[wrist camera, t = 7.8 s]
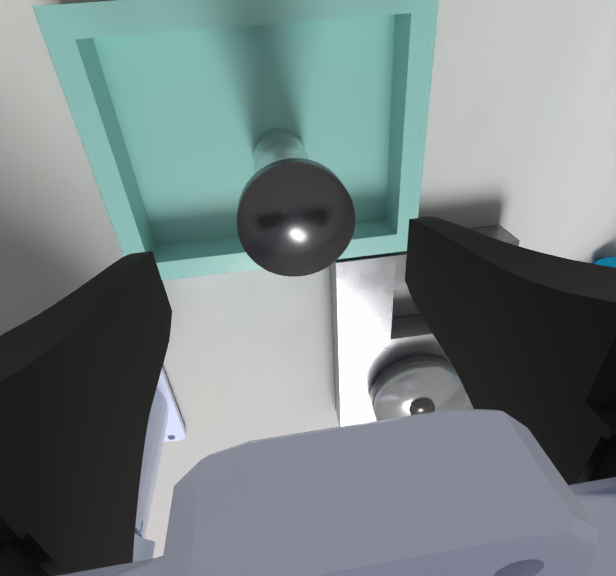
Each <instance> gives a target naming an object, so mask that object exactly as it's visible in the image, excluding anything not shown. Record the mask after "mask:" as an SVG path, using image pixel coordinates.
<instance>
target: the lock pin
mask: <svg viewBox="0 0 616 576" xmlns="http://www.w3.org/2000/svg"><path fill="white" fill-rule="evenodd" d="M253 159H254V175H253V176H252V177H251V178H250V180H249V181H248V182H247V183H246V185H245V187H244V189H243V190H242V193H241V195H240V198H239V202H238V209H237V231H238V236H239V239H240V242H241V245H242V247H243V249H244V250H245V252H246V253H247V255H248V256H249V257H250V258H251V259H252V260H253V261H254V262H255V263H256V264H257V265H259V266H260V267H262V268H263V269H265V270H267V271H270V272H272V273H275V274H279V275H283V276H304V275H309V274H313V273H316V272H318V271H320V270H323V269H325V268H326V267H328V266H329V265H331V264H332V263H333V262H335V261H336V260H337V259H338V258H339V257H340V256H341V255H342V254H343V252H344V251H345V250H346V248H347V247H348V245H349V243H350V241H351V239H352V236H353V233H354V229H355V209H354V205H353V202H352V199H351V197H350V195H349V193H348V191H347V190H346V188H345V187H344V185H343V183H342V182H341V180H340V179H339V178H338V177H337V176H336V174H335V173H333V172H332V171H331V170H330V169H329V168H327V167H326V166H324V165H322V164H320V163H318V162H315V161H312V160H310V159H309V157H308V155H307V153H306V151H305V149H304V146H303V144H302V142H301V141H300V139H299V138H298V137H297V136H296V135H295V134H294V133H293V132H291V131H289V130H286V129H282V128H275V129H271V130H268V131H266V132H265V133H263V134H262V135H261V136H260V137H259V139H258V140H257V142H256V144H255V146H254V151H253Z"/></svg>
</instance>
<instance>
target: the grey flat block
mask: <svg viewBox="0 0 616 576" xmlns="http://www.w3.org/2000/svg"><path fill="white" fill-rule="evenodd" d="M470 230H473V231H476V232H478V233H481V234H484V235H486V236H489V237H492V238H495V239H498V240H501V241H503V242H507V243H510V244H513V245H516V246H518V245H519V240H518V239H517V238H516V237H514V236H513V235H512V234H511V233H509V232H508V231H507V230H505V229H504V228H503V227H502V226H500V225H497V226H489V227H480V228H472V229H470ZM406 256H407V251H402V252H394V253H385V254H377V255H369V256H361V257H353V258H344V259H337V260H336V261H335V262H333V263H332V264H331V265H330V276H331V301H332V326H333V351H334V377H335V402H336V413H337V418H338V422H339V426H340V427H342V426H348V425H354V424H361V423H367V422H373V421H380V420H386V419H392V418H398V417H405V416H411V415H417V414H424V413H430V412H436V411H442V410H449V409H474V408H473V406H472V404H471V402H470V399H469V397H468V395H467V393H466V391H465V389H464V387H463V385H462V383H461V381H460V378H459V376H458V374H457V373H456V371H455V369H454V367H453V366H452V364H451V362H450V360H449V359H448V357H447V356H446V354H445V352H444V351H443V349H442V348H441V346H440V345H439V343H438V341H437V340H436V338H435V337H434V335H433V333H432V332H431V330H430V329H429V327H428V325H427V324H426V322H425V321H424V319H423V317H422V316H421V314H418V315H411V316H403V317H396V318H392V310H393V295H394V290H401V289H408V287H407V284H406V282H405V270H406Z"/></svg>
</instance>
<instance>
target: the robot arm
mask: <svg viewBox="0 0 616 576" xmlns="http://www.w3.org/2000/svg"><path fill="white" fill-rule="evenodd" d="M405 282H406V284H407V287H408V289H409V292H410V294H411V297H412V299H413V301H414V303H415V306H416V307H417V309H418V311H419V312H420V314H421V316H422V317H423V319H424V321H425V322H426V324H427V325H428V327H429V329H430V330H431V332H432V333H433V335H434V337H435V338H436V340H437V341H438V343H439V345H440V346H441V348H442V349H443V351H444V352H445V354H446V356H447V357H448V359H449V360H450V362H451V364H452V366H453V367H454V369H455V371H456V373H457V374H458V376H459V378H460V381H461V383H462V385H463V387H464V389H465V391H466V393H467V395H468V397H469V399H470V402H471V404H472V406H473V408H474V409H449V410H442V411H436V412H430V413H424V414H417V415H411V416H405V417H398V418H392V419H386V420H380V421H373V422H367V423H361V424H354V425H348V426H342V427H336V428H329V429H323V430H317V431H310V432H304V433H298V434H292V435H285V436H279V437H273V438H267V439H260V440H254V441H249V442H246V443H243V444H240V445H237V446H234V447H231V448H228V449H225V450H223V451H220V452H217V453H214V454H211V455H208V456H207V457H205V458H203V459H202V460H201V461H199V462H198V463H197V464H196V465H195V466H194V467H193V468H192V469H191V470H190V471H189V472H188V473H187V474H186V475H185V476H184V477H183V478H182V479H181V480H180V481H179V482H178V483H177V484H176V485H174V490H173V497H172V503H171V510H170V516H169V523H168V529H167V536H166V542H165V549H164V555H163V556H161V557H158V558H154V559H152V558H153V552H154V547H155V542H154V541H151V540H147V539H145V534H146V528H147V523H148V518H149V513H150V508H151V503H152V498H153V493H154V488H155V483H156V478H157V473H158V468H159V463H160V458H161V453H162V448H163V443H165V442H172V441H178V440H183V439H184V438H185V437H186V429H185V426H184V424H183V421H182V418H181V415H180V413H179V410H178V407H177V405H176V402H175V399H174V396H173V394H172V391H171V388H170V386H169V383H168V380H167V377H166V375H165V372H164V369H163V367H162V366H163V362H164V358H165V355H166V351H167V347H168V343H169V337H170V328H171V317H172V310H171V307H170V304H169V301H168V297H167V294H166V291H165V288H164V285H163V282H162V279H161V276H160V273H159V270H158V267H157V264H156V261H155V258H154V255H153V251H148V252H140V253H132V254H128V255H126V256H124V257H123V258H121V259H119V260H118V261H116V262H115V263H113V264H112V265H110V266H109V267H108V268H106V269H105V270H103V271H102V272H101V273H99V274H98V275H97V276H95V277H94V278H92V279H91V280H90V281H88V282H87V283H85V284H84V285H83V286H81V287H80V288H78V289H77V290H75V291H74V292H72V293H71V294H69V295H68V296H66V297H65V298H63V299H62V300H60V301H59V302H57V303H56V304H54V305H53V306H51V307H50V308H48V309H47V310H45V311H44V312H42V313H40V314H39V315H37V316H35V317H33V318H32V319H30V320H28V321H27V322H25V323H23V324H21V325H19V326H17V327H16V328H14V329H12V330H10V331H8V332H6V333H4V334H2V335H1V336H0V576H616V267H609V266H603V265H597V264H591V263H585V262H580V261H575V260H570V259H565V258H561V257H557V256H553V255H548V254H544V253H540V252H536V251H533V250H529V249H526V248H522V247H519V246H516V245H513V244H510V243H507V242H503V241H501V240H498V239H495V238H492V237H489V236H486V235H484V234H481V233H478V232H476V231H473V230H470V229H468V228H465V227H462V226H459V225H457V224H454V223H451V222H448V221H445V220H442V219H439V218H435V217H422V218H414V219H409V228H408V242H407V256H406V270H405Z"/></svg>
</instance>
